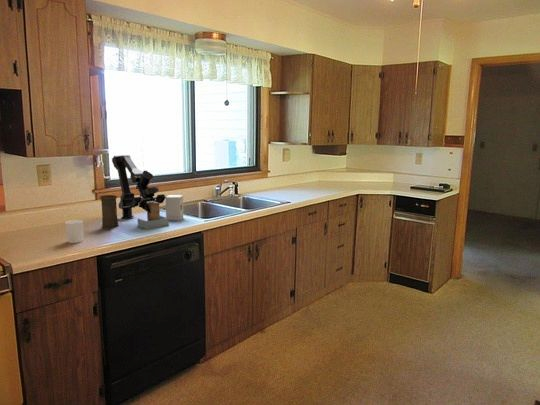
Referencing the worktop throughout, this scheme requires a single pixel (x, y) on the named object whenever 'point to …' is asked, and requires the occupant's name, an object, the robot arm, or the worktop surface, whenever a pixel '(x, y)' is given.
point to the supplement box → (174, 207)
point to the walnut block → (153, 211)
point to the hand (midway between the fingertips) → (154, 212)
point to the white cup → (74, 231)
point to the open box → (153, 223)
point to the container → (109, 212)
